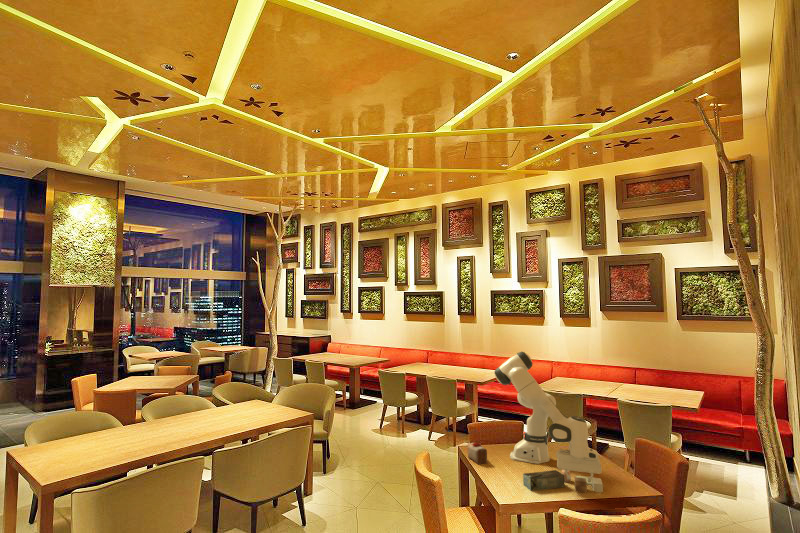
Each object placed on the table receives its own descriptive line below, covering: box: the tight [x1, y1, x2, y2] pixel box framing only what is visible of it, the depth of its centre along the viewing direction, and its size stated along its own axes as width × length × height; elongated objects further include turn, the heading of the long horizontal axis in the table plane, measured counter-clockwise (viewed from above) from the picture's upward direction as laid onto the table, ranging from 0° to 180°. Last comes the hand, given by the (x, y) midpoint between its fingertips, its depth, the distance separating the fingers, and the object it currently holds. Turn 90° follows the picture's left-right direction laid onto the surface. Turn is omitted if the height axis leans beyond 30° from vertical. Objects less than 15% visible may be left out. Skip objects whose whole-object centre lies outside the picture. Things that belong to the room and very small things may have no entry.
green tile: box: [575, 475, 595, 486], centre depth 231 cm, size 9×9×1 cm
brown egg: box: [560, 469, 572, 484], centre depth 231 cm, size 4×4×5 cm
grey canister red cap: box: [466, 442, 488, 465], centre depth 261 cm, size 14×8×10 cm, turn 20°
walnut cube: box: [574, 476, 588, 494], centre depth 220 cm, size 5×5×5 cm
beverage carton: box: [522, 469, 566, 492], centre depth 224 cm, size 8×19×7 cm, turn 104°
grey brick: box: [591, 477, 604, 493], centre depth 221 cm, size 8×4×4 cm, turn 163°
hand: (579, 480), depth 220 cm, fingers open, 8 cm apart
